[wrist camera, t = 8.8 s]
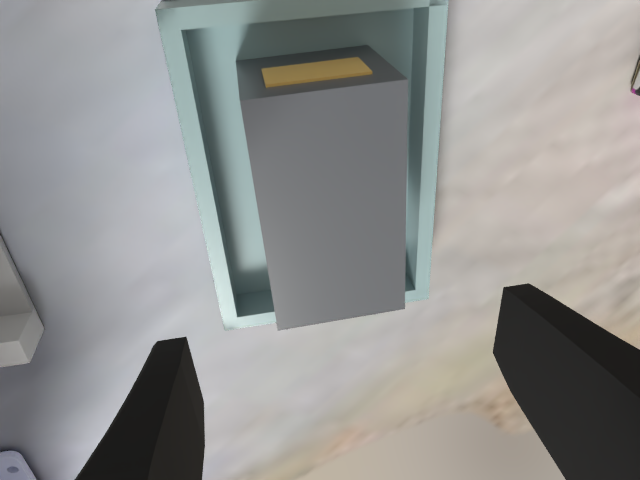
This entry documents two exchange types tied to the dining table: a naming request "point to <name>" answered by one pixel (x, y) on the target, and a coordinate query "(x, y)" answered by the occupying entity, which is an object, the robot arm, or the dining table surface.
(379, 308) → the grey rectangular block
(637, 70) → the candy bar box
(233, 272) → the tray
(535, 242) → the dining table surface
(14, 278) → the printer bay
